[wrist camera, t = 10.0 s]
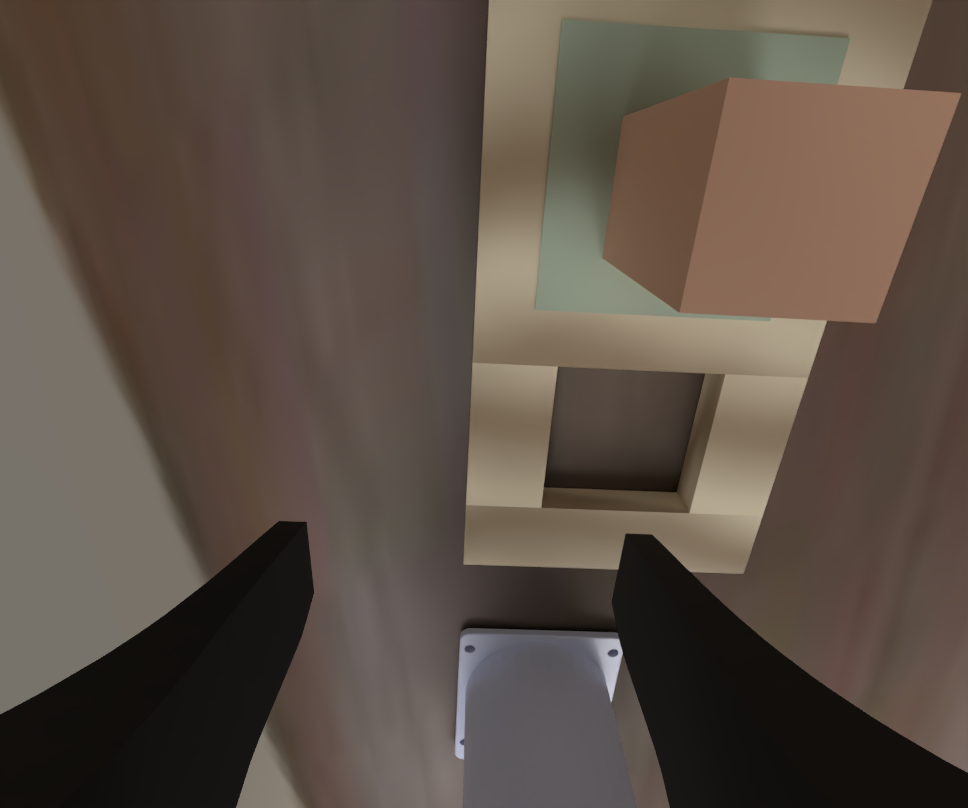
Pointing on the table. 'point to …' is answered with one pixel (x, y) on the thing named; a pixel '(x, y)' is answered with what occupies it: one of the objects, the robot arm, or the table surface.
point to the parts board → (613, 295)
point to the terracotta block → (773, 196)
